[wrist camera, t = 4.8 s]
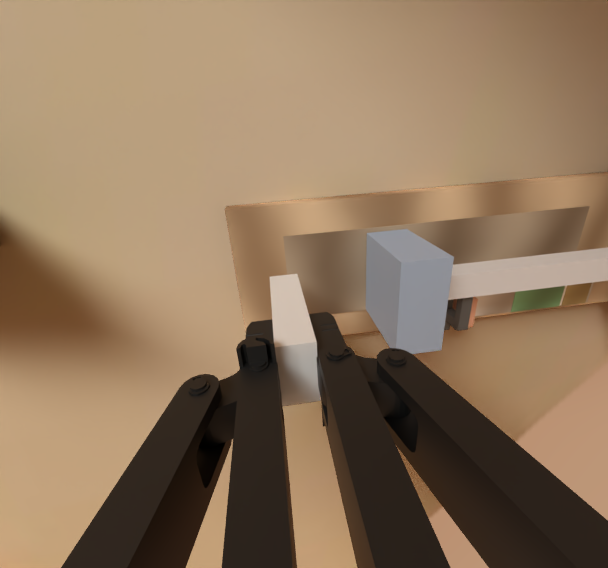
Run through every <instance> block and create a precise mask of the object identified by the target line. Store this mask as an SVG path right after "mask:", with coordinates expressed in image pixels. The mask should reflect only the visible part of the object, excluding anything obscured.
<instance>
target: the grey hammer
mask: <svg viewBox="0 0 608 568" xmlns="http://www.w3.org/2000/svg"><path fill="white" fill-rule="evenodd" d="M453 261H454V257H453V256H452V255H450V254H448V253H446V252H445V251H443V250H441V249H440V248H438V247H436V246H435V245H433V244H431V243H430V242H428V241H426V240H425V239H423V238H421V237H420V236H418V235H416V234H414V233H413V232H411V231H409V230H408V229H401V230H392V231H382V232H372V233H367V252H366V310H367V312H368V313H369V315H370V317H371V318H372V320H373V321H374V323H375V325H376V326H377V328H378V329H379V331H380V332H381V334H382V336H383V337H384V339H385V340H386V342H387V344H388V345H389V347H390V348H398V349H402V350H405V351H407V352H409V353H411V354H417V353H424V352H432V351H439V350H441V349H442V342H443V334H444V330H449V329H450V325H451V326H452V327H453V328H454V329H455V330H458V331H459V330H467V329H468V325H469V319H470V313H471V307H472V302H473V297H477V296H485V295H493V294H502V293H510V292H518V291H526V290H534V289H543V288H551V287H559V286H567V285H576V284H584V283H592V282H600V281H608V247H607V248H598V249H589V250H580V251H571V252H562V253H554V254H545V255H536V256H527V257H518V258H509V259H500V260H491V261H482V262H473V263H464V264H456V265H453ZM454 299H457V305H456V310H454V309H453V301H454Z"/></svg>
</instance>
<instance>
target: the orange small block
mask: <svg viewBox="0 0 608 568" xmlns="http://www.w3.org/2000/svg"><path fill="white" fill-rule="evenodd" d="M477 302H478V299H477V298H476V297H473V302H472V307H471V313H470V319H469V325H468V327H473V324H474V318H475V313H476V307H477ZM456 305H457V299H454V301H453V309H454V310H456Z"/></svg>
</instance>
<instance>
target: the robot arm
mask: <svg viewBox="0 0 608 568" xmlns="http://www.w3.org/2000/svg"><path fill="white" fill-rule="evenodd" d="M270 291H271V306H272V319H271V320H262V321H254V322H251V323H250V324H249V326H248V327H247V328H246V339H245V340H243V341H242V342H240V343H239V344H238V346H237V348H236V350H237V355H238V361H239V366H240V370H239V371H238V372H237V373H236V374H234V375H232V376H230V377H228V378H226V379H223V380H220V381H218V378H217V377H215V376H213V375H209V374H204V375H198V376H195V377H192V378H190V379H189V380H187V381H186V382H185V383H184V384H183V385H182V386H181V387H180V388H179V390H178V391H177V393H176V394H175V396H174V397H173V399H172V400H171V402H170V403H169V405H168V407H167V408H166V410H165V411H164V413H163V414H162V416H161V417H160V419H159V420H158V422H157V423H156V425H155V426H154V428H153V429H152V431H151V432H150V434H149V435H148V437H147V438H146V440H145V441H144V443H143V444H142V446H141V447H140V449H139V450H138V452H137V453H136V455H135V457H134V458H133V460H132V461H131V463H130V464H129V466H128V467H127V469H126V470H125V472H124V473H123V475H122V476H121V478H120V479H119V481H118V482H117V484H116V485H115V487H114V488H113V490H112V491H111V493H110V494H109V496H108V497H107V499H106V500H105V502H104V504H103V505H102V507H101V508H100V510H99V511H98V513H97V514H96V516H95V517H94V519H93V520H92V522H91V523H90V525H89V526H88V528H87V529H86V531H85V532H84V534H83V535H82V537H81V538H80V540H79V541H78V543H77V544H76V546H75V547H74V549H73V550H72V552H71V554H70V555H69V557H68V558H67V560H66V561H65V563H64V564H63V566H62V567H61V568H186V565H187V562H188V559H189V557H190V554H191V551H192V549H193V546H194V543H195V540H196V538H197V535H198V532H199V530H200V527H201V524H202V522H203V519H204V516H205V513H206V511H207V508H208V505H209V503H210V500H211V497H212V494H213V492H214V489H215V486H216V484H217V481H218V478H219V476H220V473H221V470H222V467H223V465H224V462H225V459H226V457H227V454H228V451H229V448H230V446H231V441H232V439H233V438H234V439H233V450H232V461H231V472H230V483H229V494H228V505H227V516H226V527H225V538H224V549H223V560H222V568H297V563H296V552H295V540H294V529H293V517H292V506H291V494H290V483H289V472H288V460H287V449H286V437H285V426H284V415H283V408H282V406H288V405H295V404H302V403H309V402H316V401H320V397H321V401H322V418H323V426H326V431H327V435H328V440H329V444H330V448H331V453H332V457H333V462H334V466H335V470H336V475H337V479H338V484H339V488H340V492H341V497H342V501H343V506H344V510H345V515H346V519H347V523H348V528H349V532H350V537H351V541H352V545H353V550H354V554H355V559H356V563H357V567H358V568H450V566H449V564H448V561H447V559H446V557H445V555H444V552H443V550H442V548H441V546H440V543H439V541H438V539H437V537H436V534H435V532H434V530H433V528H432V526H431V523H430V521H429V519H428V517H427V514H426V512H425V510H424V508H423V505H422V503H421V501H420V499H419V496H418V494H417V492H416V490H415V487H414V485H413V483H412V481H411V478H410V476H409V474H408V472H407V469H406V467H405V465H404V463H403V461H402V458H401V456H400V454H399V452H398V449H397V447H398V448H399V449H400V451H401V452H402V453H403V455H404V456H405V457H406V459H407V460H408V461H409V463H410V464H411V465H412V467H413V468H414V469H415V470H416V472H417V473H418V474H419V476H420V477H421V478H422V480H423V481H424V482H425V484H426V485H427V486H428V488H429V489H430V490H431V492H432V493H433V494H434V496H435V497H436V498H437V500H438V501H439V502H440V503H441V505H442V506H443V507H444V509H445V510H446V511H447V513H448V514H449V515H450V517H451V518H452V519H453V521H454V522H455V523H456V525H457V526H458V527H459V529H460V530H461V531H462V533H463V534H464V535H465V536H466V538H467V539H468V540H469V542H470V543H471V544H472V546H473V547H474V548H475V549H476V551H477V552H478V553H479V555H480V556H481V558H482V559H483V560H484V562H485V563H486V564H487V566H488V567H489V568H608V521H607V520H606V519H605V518H604V517H603V516H602V515H600V514H599V513H598V512H597V511H596V510H594V509H593V508H592V507H591V506H590V505H588V504H587V503H586V502H585V501H584V500H583V499H582V498H580V497H579V496H578V495H577V494H576V493H574V492H573V491H572V490H571V489H570V488H569V487H567V486H566V485H565V484H564V483H563V482H561V481H560V480H559V479H558V478H557V477H556V476H554V475H553V474H552V473H551V472H550V471H549V470H547V469H546V468H545V467H544V466H543V465H542V464H540V463H539V462H538V461H537V460H535V459H534V458H533V457H532V456H531V455H530V454H529V453H527V452H526V451H525V450H524V449H523V448H521V447H520V446H519V445H518V444H517V443H516V442H515V441H513V440H512V439H511V438H510V437H509V436H507V435H506V434H505V433H504V432H503V431H502V430H500V429H499V428H498V427H497V426H496V425H495V424H493V423H492V422H491V421H490V420H489V419H487V418H486V417H485V416H484V415H483V414H482V413H480V412H479V411H478V410H477V409H476V408H475V407H473V406H472V405H471V404H470V403H469V402H467V401H466V400H465V399H464V398H463V397H462V396H460V395H459V394H458V393H457V392H456V391H455V390H453V389H452V388H451V387H450V386H449V385H447V384H446V383H445V382H444V381H443V380H442V379H440V378H439V377H438V376H437V375H436V374H435V373H433V372H432V371H431V370H430V369H429V368H427V367H426V366H425V365H424V364H423V363H422V362H420V361H419V360H418V359H417V358H416V357H415V356H413V355H412V354H411V353H409V352H407V351H405V350H402V349H398V348H389V349H384V350H382V351H380V352H379V354H378V355H377V359H374V358H364V357H360V356H357V355H355V353H354V352H353V350H352V349H351V348H349V347H347V346H346V344H345V341H344V339H343V337H342V334H341V332H340V330H339V327H338V325H337V323H336V320H335V318H334V316H332V315H331V314H330V313H328V312H321V313H313V314H309V313H308V310H307V306H306V303H305V299H304V296H303V292H302V289H301V285H300V282H299V278H298V275H297V274H290V275H280V276H271V277H270ZM395 444H396V445H397V447H396V445H395Z"/></svg>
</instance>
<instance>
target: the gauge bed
mask: <svg viewBox="0 0 608 568" xmlns="http://www.w3.org/2000/svg"><path fill="white" fill-rule="evenodd" d="M225 214H226V220H227V226H228V232H229V237H230V243H231V249H232V255H233V261H234V267H235V273H236V278H237V284H238V290H239V296H240V302H241V308H242V314H243V320H244V325H245V331H246V328H247V327H248V326H249V324H250V323H251V322H254V321H262V320H271V319H272V306H271V291H270V277H271V276H280V275H290V274H297V275H298V278H299V282H300V285H301V289H302V292H303V296H304V299H305V303H306V306H307V310H308V313H309V314H313V313H321V312H328V313H330V314H331V315H332V316H334V318H335V320H336V323H337V325H338V327H339V330H340V332H341V334H342V335H349V334H357V333H365V332H373V331H379V329H378V328H377V326H376V325H375V323H374V321H373V320H372V318H371V317H370V315H369V313H368V312H367V310H366V252H367V233H372V232H382V231H392V230H401V229H408V230H409V231H411V232H413V233H414V234H416V235H418V236H420V237H421V238H423V239H425V240H426V241H428V242H430V243H431V244H433V245H435V246H436V247H438V248H440V249H441V250H443V251H445V252H446V253H448V254H450V255H452V256H453V257H454V261H453V265H456V264H464V263H473V262H482V261H491V260H500V259H509V258H518V257H527V256H536V255H545V254H554V253H562V252H571V251H580V250H589V249H598V248H607V247H608V172H600V173H589V174H578V175H567V176H556V177H545V178H534V179H523V180H512V181H501V182H490V183H479V184H467V185H456V186H445V187H434V188H423V189H412V190H401V191H390V192H379V193H368V194H357V195H346V196H335V197H324V198H313V199H302V200H291V201H280V202H269V203H258V204H246V205H235V206H227V207H226V208H225ZM476 298H477V299H478V302H477V307H476V313H475V318H482V317H490V316H498V315H506V314H513V313H521V312H529V311H537V310H545V309H553V308H560V307H568V306H576V305H584V304H592V303H600V302H607V301H608V281H600V282H592V283H584V284H576V285H567V286H559V287H551V288H543V289H534V290H526V291H518V292H510V293H502V294H493V295H485V296H477V297H476Z"/></svg>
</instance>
